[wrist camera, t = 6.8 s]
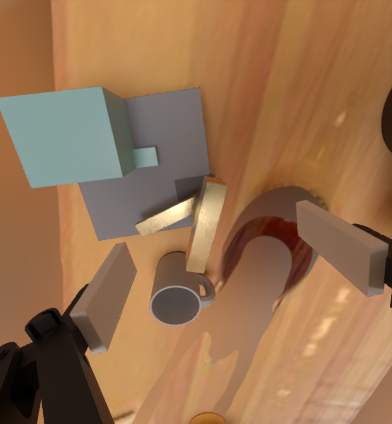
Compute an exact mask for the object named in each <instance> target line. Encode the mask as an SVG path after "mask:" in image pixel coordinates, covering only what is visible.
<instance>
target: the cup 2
mask: <svg viewBox="0 0 392 424" xmlns="http://www.w3.org/2000/svg"><path fill="white" fill-rule="evenodd" d="M190 424H224V419H223V418H222V416H220V415H218V414H216V413H203V414H199V415H197V416H196V417H194V418H193V419H192V420H191V422H190Z"/></svg>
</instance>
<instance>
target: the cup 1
mask: <svg viewBox="0 0 392 424" xmlns="http://www.w3.org/2000/svg"><path fill="white" fill-rule="evenodd" d="M199 284H200V285H202V286H203V287H204V289H205V291H206V295H205V296H200V287H199ZM214 300H215V289H214V286H213V283H212V282H211V281H210V279H208V278H207V277H206V276H203V275H200V274H198V273H196V272H190V271H186V254H185V253H181V252H174V253H170V254H167V255H166V256H164V257H163V258H162V259H161V260H160V261H159V263H158V266H157V269H156V274H155V279H154V284H153V289H152V294H151V299H150V311H151V314H152V315H153V317H154V318H155V319H156V320H157V321H158V322H160V323H162V324H165V325H169V326H180V325H185V324H187V323H190V322H191V321H193V320H194V319H195V318H196V317H197V316H198V315H199V313H200V311H201V308H204V307H208V306H210V305H211V304H212V303H213V302H214Z"/></svg>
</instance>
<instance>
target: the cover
mask: <svg viewBox="0 0 392 424" xmlns="http://www.w3.org/2000/svg"><path fill="white" fill-rule="evenodd" d="M0 111H1V113H2V116H3V118H4V121H5V123H6V126H7V128H8V131H9V133H10V136H11V138H12V141H13V143H14V146H15V148H16V151H17V153H18V156H19V158H20V160H21V163H22V166H23V168H24V171H25V173H26V176H27V178H28V181H29V183H30V186H31V188H38V187H46V186H54V185H63V184H71V183H79V182H87V181H96V180H104V179H112V178H121V177H124V176H125V175H127V174H128V173H130V172H131V171H133V170H134V169H135V168H141V167H149V166H158V165H159V164H160V163H159V158H158V152H157V146H156V147H147V148H139V149H135V145H134V141H133V136H132V131H131V126H130V121H129V116H128V111H127V106H126V101H125V100H123V99H122V98H120V97H118V96H117V95H115V94H113V93H112V92H110V91H108V90H107V89H105V88H103V87H102V86H100V87H91V88H83V89H74V90H65V91H56V92H47V93H38V94H29V95H20V96H12V97H3V98H0Z"/></svg>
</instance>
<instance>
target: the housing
mask: <svg viewBox="0 0 392 424" xmlns="http://www.w3.org/2000/svg"><path fill="white" fill-rule="evenodd" d="M123 100H125V101H126V106H127V111H128V116H129V121H130V126H131V131H132V136H133V141H134V145H135V149H139V148H147V147H156V146H157V152H158V158H159V163H160V164H159V165H158V166H149V167H141V168H135V169H134V170H133V171H131V172H130V173H128V174H127V175H125V176H124V177H121V178H112V179H104V180H96V181H87V182H79V183H78V184H79V187H80V189H81V192H82V195H83V198H84V201H85V204H86V207H87V209H88V212H89V215H90V218H91V221H92V224H93V227H94V229H95V232H96V235H97V238H98V241H100V240H106V239H112V238H119V237H125V236H132V235H138V234H140V233H139V231H138V230H137V228H136V227H135V224H136V222H138V221H140V220H142V219H144V218H146V217H148V216H150V215H153V214H155V213H157V212H159V211H161V210H163V209H165V208H167V207H169V206H171V205H173V204H175V203H177V202H179V201H181V200H183V199H186V198H188V197H190V195H191V193H192V192H193V191H195V190H200V191H201V188H202V184H203V180H204V176H208V177H213V178H215V174H211V175H210V168H209V159H208V151H207V143H206V134H205V126H204V118H203V109H202V101H201V93H200V87H199V88H192V89H186V90H179V91H173V92H166V93H160V94H153V95H146V96H140V97H133V98H127V99H123ZM189 226H193V216H192V215H190V216H187V217H185V218H183V219H181V220H179V221H177V222H175V223H173V224H171V225H168V226H166V227H164V228H162V229H160V230H158V231H163V230H170V229H176V228H183V227H189ZM156 232H157V231H156Z"/></svg>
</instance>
